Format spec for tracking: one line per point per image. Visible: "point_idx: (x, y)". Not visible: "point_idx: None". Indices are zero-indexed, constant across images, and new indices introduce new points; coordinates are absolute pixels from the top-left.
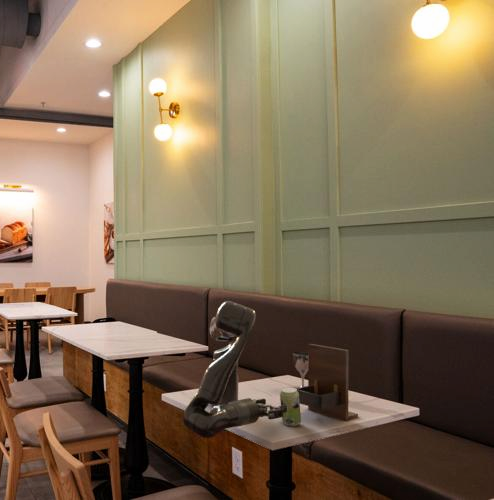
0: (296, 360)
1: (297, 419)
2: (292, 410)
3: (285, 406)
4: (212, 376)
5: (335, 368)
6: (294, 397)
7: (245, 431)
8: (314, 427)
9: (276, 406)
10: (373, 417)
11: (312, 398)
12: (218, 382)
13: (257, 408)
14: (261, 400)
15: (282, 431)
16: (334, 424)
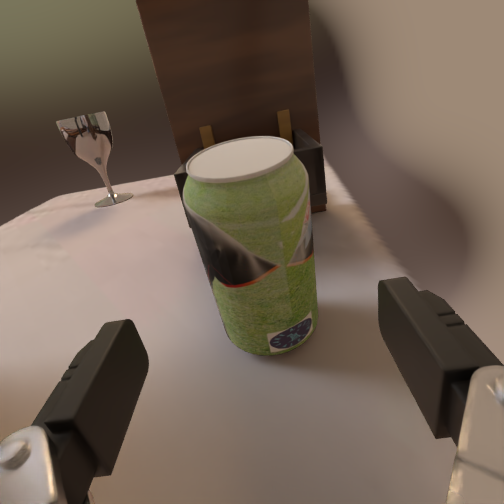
0: (74, 135)
1: (316, 299)
2: (305, 272)
3: (411, 292)
4: None
5: (269, 46)
6: (307, 186)
7: None
8: (352, 284)
9: (469, 392)
10: (327, 179)
11: None
12: None
13: None
14: (104, 369)
15: (365, 458)
16: (343, 234)
